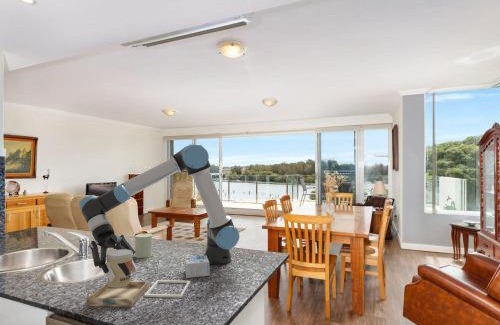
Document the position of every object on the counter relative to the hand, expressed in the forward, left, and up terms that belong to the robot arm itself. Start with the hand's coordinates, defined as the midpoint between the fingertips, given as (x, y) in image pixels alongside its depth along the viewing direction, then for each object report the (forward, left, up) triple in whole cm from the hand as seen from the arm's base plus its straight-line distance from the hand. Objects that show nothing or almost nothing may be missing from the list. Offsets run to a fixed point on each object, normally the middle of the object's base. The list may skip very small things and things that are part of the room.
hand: (124, 275), depth 109 cm
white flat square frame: (-15, -9, -9) cm, 19 cm away
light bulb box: (-17, -25, -5) cm, 31 cm away
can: (+13, -53, -9) cm, 55 cm away
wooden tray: (+2, -2, -9) cm, 9 cm away
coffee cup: (+3, -2, -4) cm, 5 cm away
